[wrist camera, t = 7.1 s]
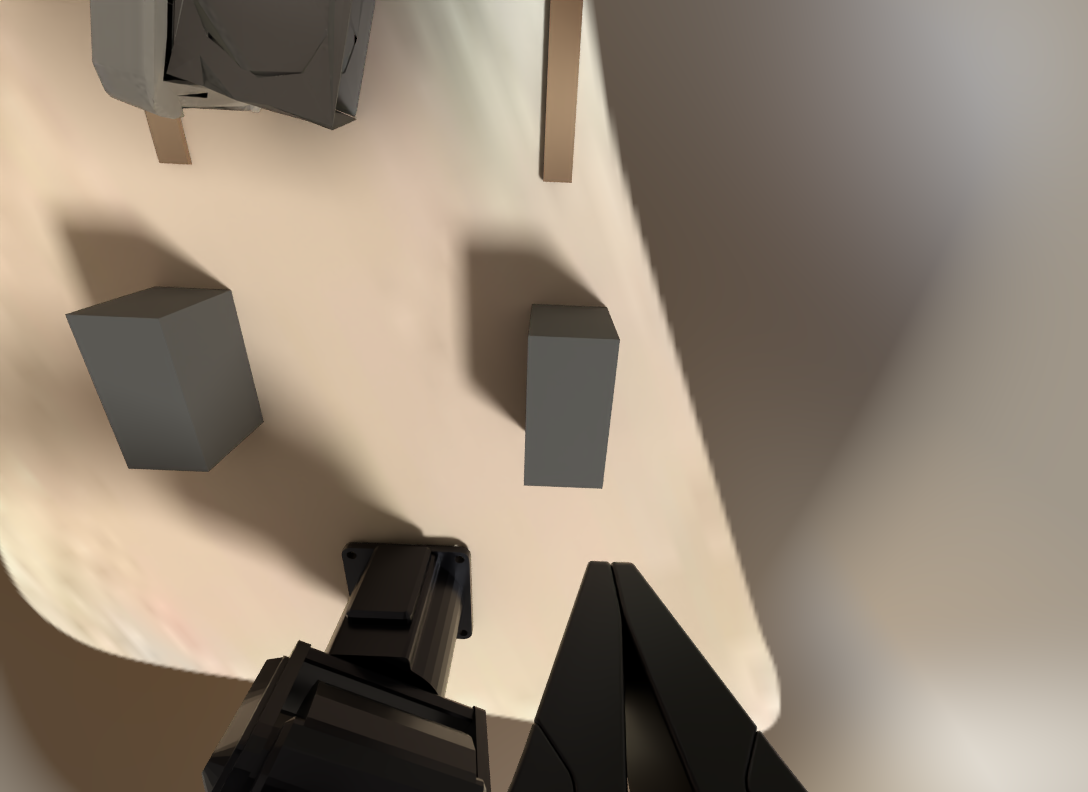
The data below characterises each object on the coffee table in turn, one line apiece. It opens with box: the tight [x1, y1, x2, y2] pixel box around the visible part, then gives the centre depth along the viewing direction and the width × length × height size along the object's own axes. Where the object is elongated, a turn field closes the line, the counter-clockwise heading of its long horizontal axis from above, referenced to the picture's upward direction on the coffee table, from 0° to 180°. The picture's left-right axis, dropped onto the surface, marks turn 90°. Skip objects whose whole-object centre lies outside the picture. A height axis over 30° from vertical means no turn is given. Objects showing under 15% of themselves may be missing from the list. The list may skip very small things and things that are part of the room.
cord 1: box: [524, 304, 620, 489], centre depth 19 cm, size 6×3×4 cm, turn 178°
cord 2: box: [65, 287, 264, 472], centre depth 18 cm, size 6×3×4 cm, turn 177°
